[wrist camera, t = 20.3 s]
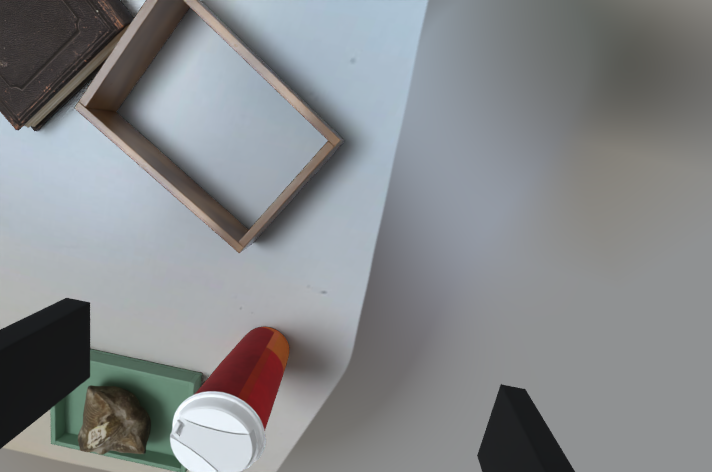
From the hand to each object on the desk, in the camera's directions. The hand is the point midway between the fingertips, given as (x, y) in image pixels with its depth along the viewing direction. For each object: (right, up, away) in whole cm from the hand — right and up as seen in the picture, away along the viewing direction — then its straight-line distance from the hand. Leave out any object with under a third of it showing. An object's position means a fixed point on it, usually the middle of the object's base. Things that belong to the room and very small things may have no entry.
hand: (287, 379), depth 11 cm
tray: (-26, -16, +33) cm, 45 cm away
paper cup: (-8, -8, +30) cm, 33 cm away
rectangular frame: (-11, +16, +25) cm, 31 cm away
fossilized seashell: (-26, -17, +33) cm, 45 cm away
